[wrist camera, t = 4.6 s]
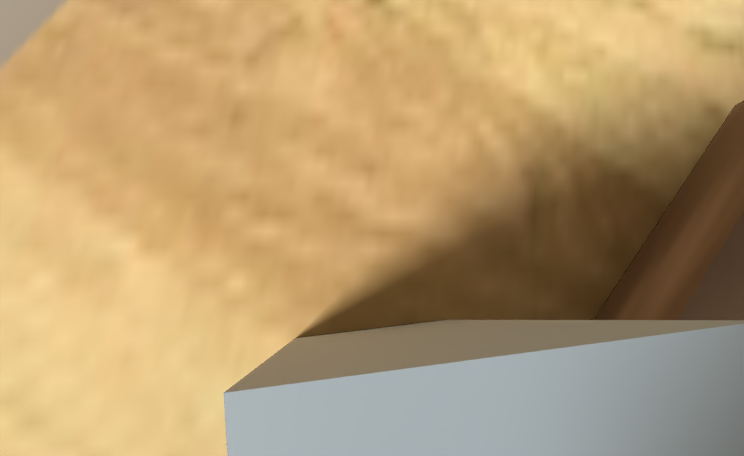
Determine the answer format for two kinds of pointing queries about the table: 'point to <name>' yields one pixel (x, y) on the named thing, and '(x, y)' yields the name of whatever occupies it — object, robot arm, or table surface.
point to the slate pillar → (498, 391)
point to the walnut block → (693, 244)
